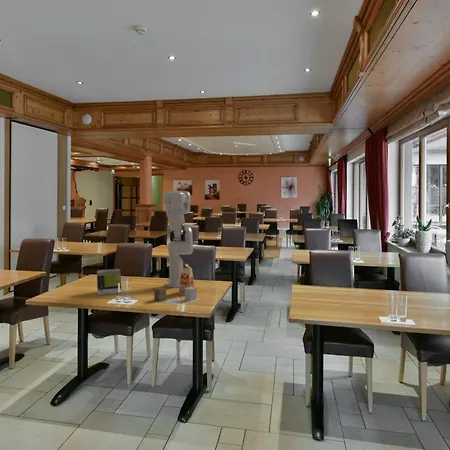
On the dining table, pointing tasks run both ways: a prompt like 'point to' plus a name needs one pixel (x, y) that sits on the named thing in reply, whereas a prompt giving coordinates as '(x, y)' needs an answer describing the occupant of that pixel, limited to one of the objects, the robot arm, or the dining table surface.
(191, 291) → the grey block
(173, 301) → the code tile
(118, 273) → the tea box
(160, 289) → the walnut block
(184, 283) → the milk carton
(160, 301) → the coaster
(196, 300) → the code tile
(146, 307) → the dining table surface
